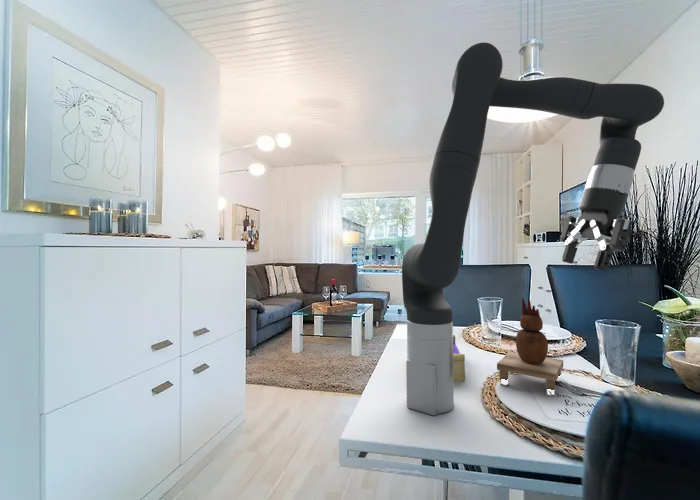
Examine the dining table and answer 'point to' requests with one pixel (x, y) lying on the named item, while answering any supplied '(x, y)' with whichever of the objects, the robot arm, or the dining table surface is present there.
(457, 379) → the toy sofa
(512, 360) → the footstool
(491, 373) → the dining table surface
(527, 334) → the wooden figurine
